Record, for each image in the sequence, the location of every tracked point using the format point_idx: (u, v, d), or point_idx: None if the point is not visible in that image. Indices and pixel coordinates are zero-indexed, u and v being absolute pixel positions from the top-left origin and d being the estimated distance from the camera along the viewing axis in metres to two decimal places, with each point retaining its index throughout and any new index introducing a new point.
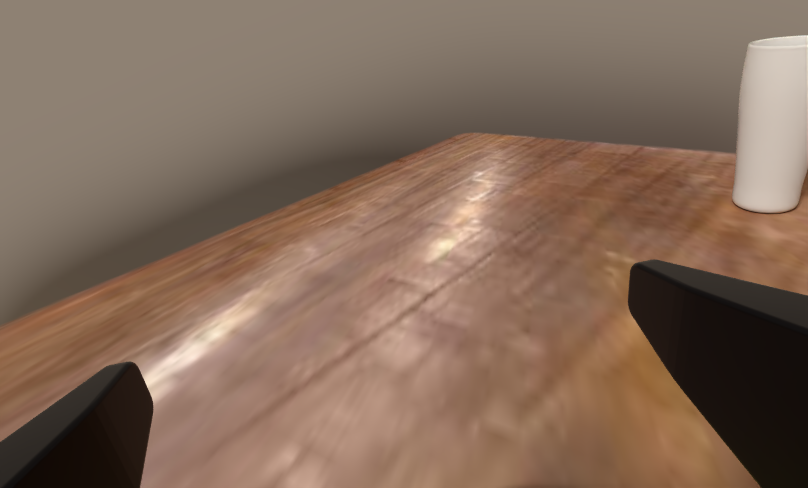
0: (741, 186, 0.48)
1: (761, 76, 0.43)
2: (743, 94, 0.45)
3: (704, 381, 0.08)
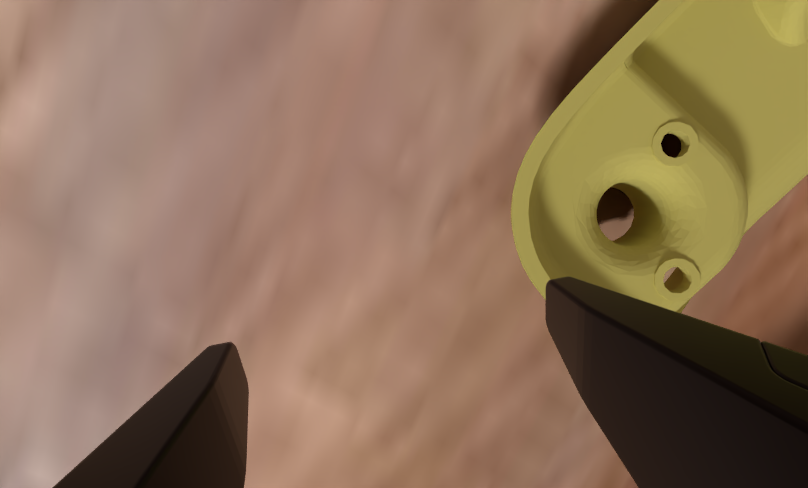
0: None
1: None
2: None
3: (605, 403, 0.08)
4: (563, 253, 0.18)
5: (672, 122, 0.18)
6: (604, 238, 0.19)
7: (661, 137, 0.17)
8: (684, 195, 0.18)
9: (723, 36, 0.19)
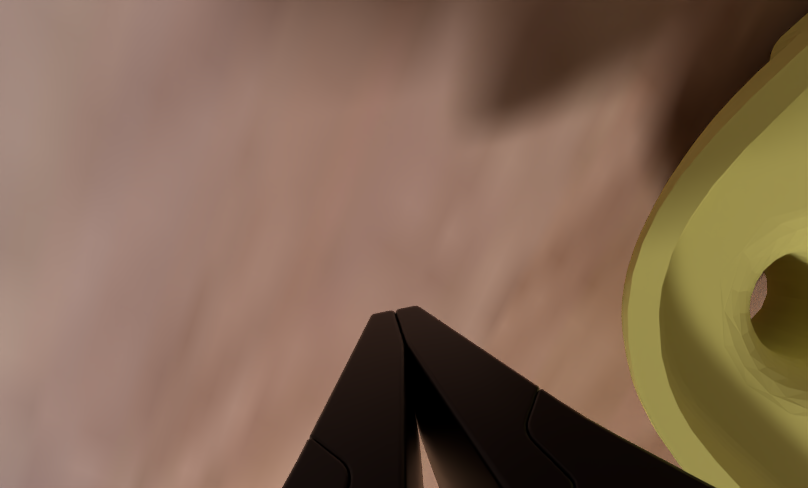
0: None
1: None
2: None
3: (429, 441, 0.07)
4: (699, 373, 0.11)
5: None
6: (763, 347, 0.11)
7: None
8: None
9: None
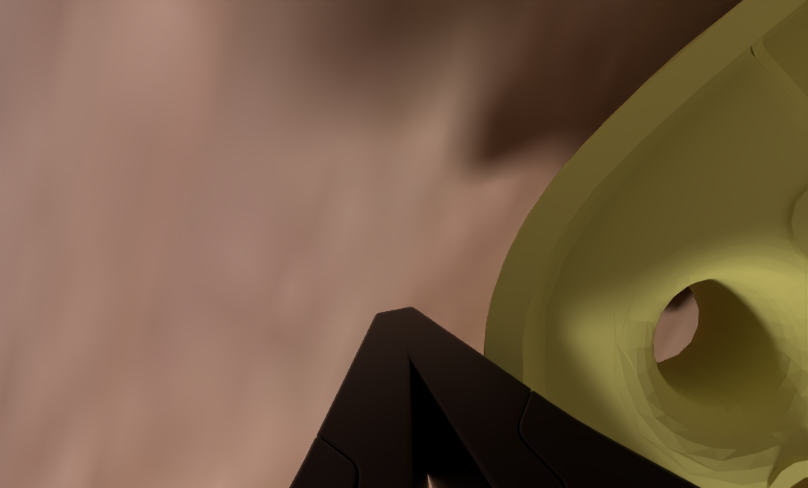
0: None
1: None
2: None
3: (423, 443, 0.07)
4: (584, 417, 0.09)
5: None
6: (666, 390, 0.09)
7: None
8: None
9: None
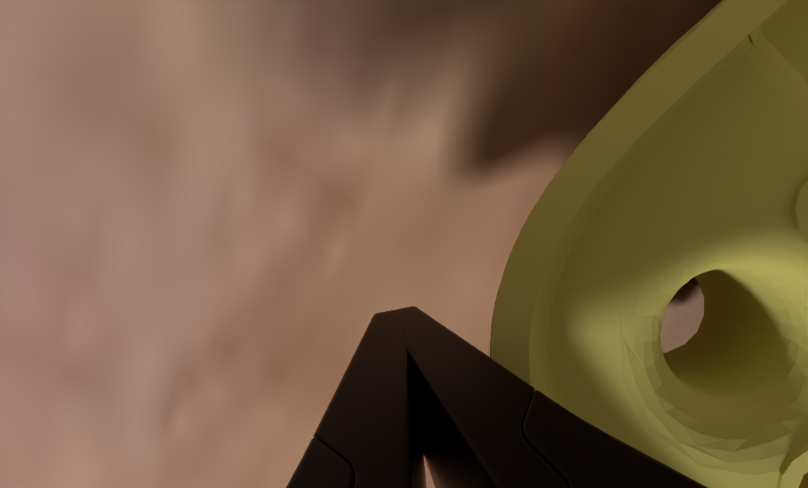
0: None
1: None
2: None
3: (425, 442, 0.07)
4: (593, 414, 0.09)
5: None
6: (674, 383, 0.09)
7: None
8: None
9: None
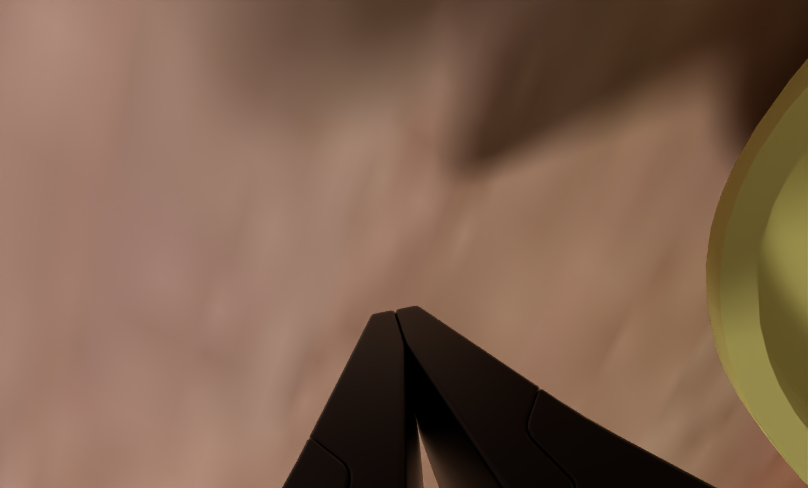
0: None
1: None
2: None
3: (429, 442, 0.07)
4: (792, 350, 0.09)
5: None
6: None
7: None
8: None
9: None
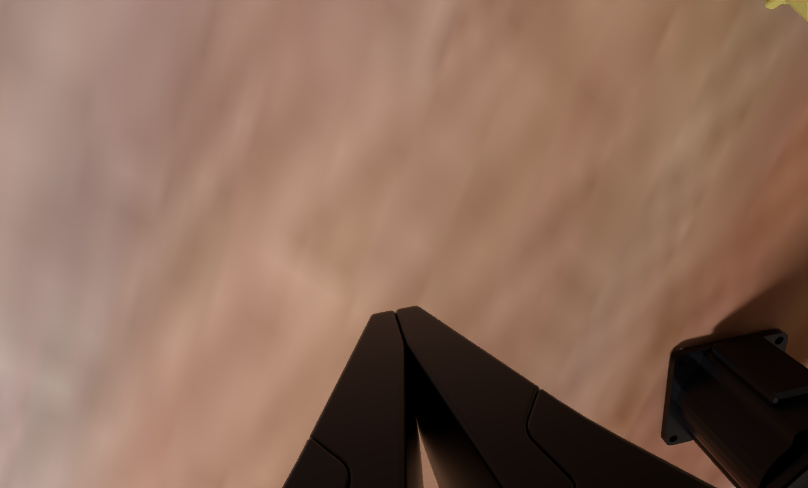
0: None
1: None
2: None
3: (428, 441, 0.07)
4: None
5: None
6: None
7: None
8: None
9: None
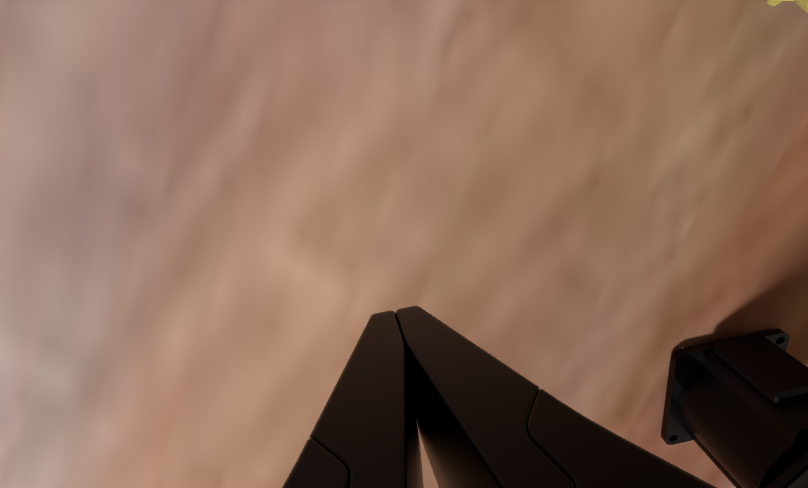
0: None
1: None
2: None
3: (428, 442, 0.07)
4: None
5: None
6: None
7: None
8: None
9: None
